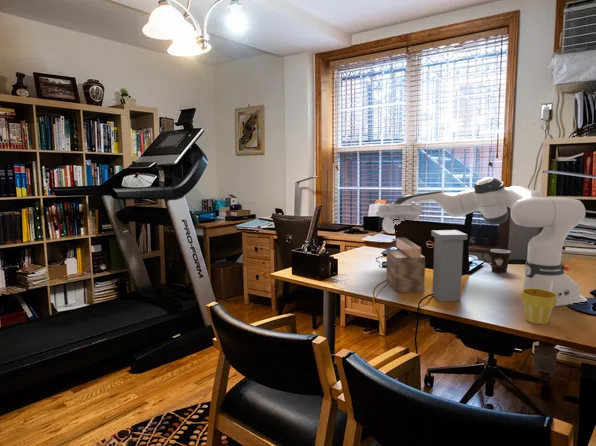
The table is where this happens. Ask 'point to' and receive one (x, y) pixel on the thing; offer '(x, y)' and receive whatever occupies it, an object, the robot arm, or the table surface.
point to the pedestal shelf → (447, 264)
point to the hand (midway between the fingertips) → (404, 203)
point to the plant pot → (538, 304)
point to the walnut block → (405, 272)
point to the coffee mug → (498, 260)
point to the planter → (408, 247)
